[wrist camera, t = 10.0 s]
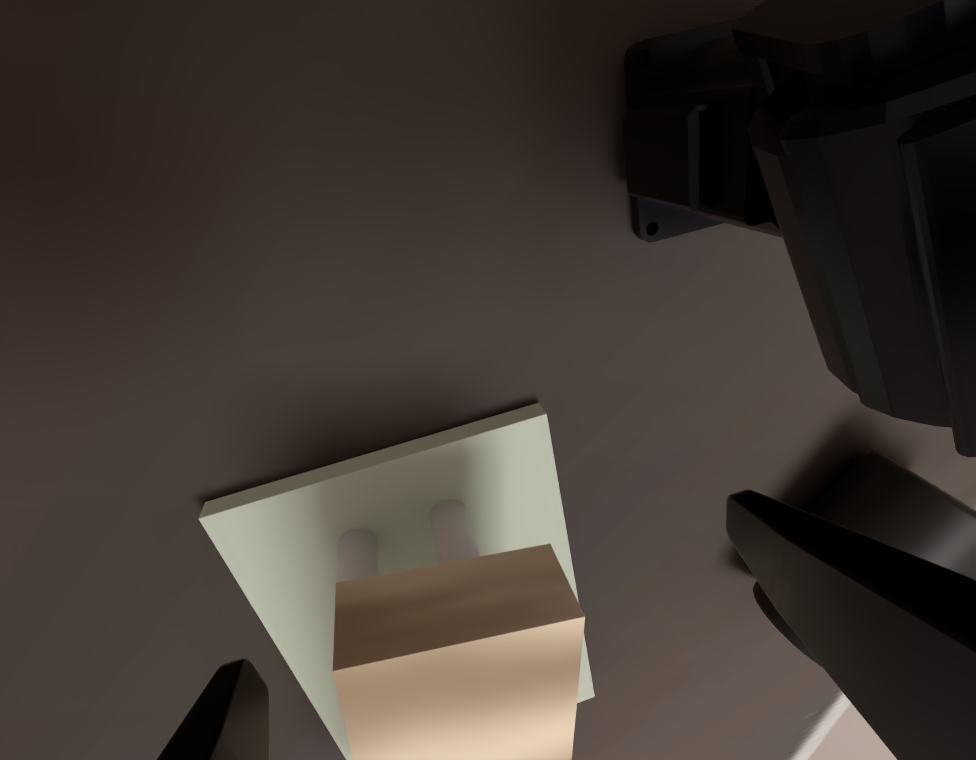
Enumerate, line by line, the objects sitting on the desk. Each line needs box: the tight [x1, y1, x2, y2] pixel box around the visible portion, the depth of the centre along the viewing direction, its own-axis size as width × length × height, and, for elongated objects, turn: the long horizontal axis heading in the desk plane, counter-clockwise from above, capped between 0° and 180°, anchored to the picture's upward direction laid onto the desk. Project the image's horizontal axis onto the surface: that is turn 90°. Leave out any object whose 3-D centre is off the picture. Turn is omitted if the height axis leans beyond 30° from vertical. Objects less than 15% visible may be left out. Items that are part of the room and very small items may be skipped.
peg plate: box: [199, 403, 595, 760], centre depth 23 cm, size 20×14×6 cm
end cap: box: [753, 451, 976, 667], centre depth 27 cm, size 10×7×7 cm
